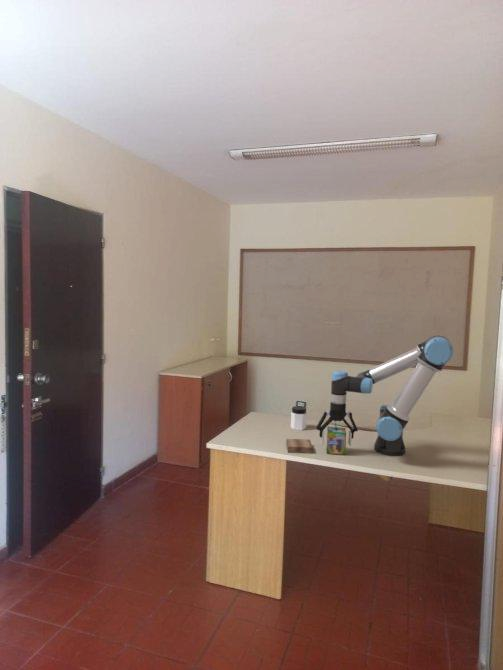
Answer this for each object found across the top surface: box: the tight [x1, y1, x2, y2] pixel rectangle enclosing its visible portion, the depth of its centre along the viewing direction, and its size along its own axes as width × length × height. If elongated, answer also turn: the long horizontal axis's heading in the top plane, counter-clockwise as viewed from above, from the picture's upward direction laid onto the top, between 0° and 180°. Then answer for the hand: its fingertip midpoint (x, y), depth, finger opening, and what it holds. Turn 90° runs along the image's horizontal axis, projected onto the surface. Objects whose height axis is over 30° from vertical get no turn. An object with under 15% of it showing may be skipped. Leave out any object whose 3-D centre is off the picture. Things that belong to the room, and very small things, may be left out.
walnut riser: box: [285, 438, 314, 454], centre depth 231 cm, size 12×12×3 cm
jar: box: [290, 405, 308, 431], centre depth 265 cm, size 9×8×12 cm
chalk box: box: [326, 422, 347, 456], centre depth 228 cm, size 9×9×15 cm
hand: (335, 444), depth 228 cm, fingers open, 13 cm apart
